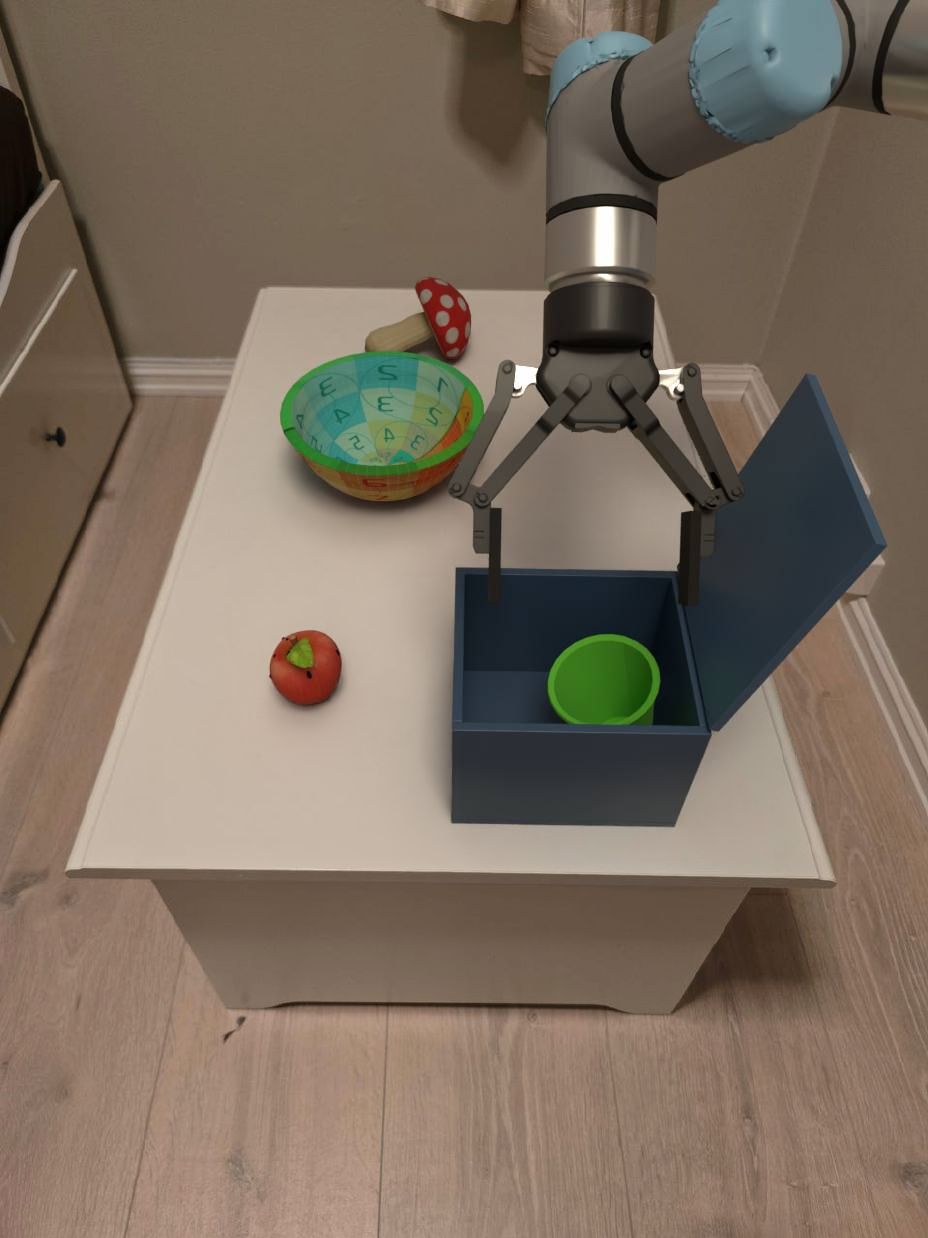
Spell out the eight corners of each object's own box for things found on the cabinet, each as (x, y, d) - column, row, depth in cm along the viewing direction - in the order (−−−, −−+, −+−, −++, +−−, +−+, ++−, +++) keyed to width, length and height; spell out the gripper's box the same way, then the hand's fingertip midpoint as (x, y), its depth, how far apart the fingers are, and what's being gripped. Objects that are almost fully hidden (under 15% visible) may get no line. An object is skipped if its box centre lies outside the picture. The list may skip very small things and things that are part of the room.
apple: (260, 689, 85) (241, 620, 77) (318, 652, 88) (306, 583, 80) (306, 740, 81) (292, 674, 74) (366, 700, 84) (358, 632, 77)
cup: (555, 770, 80) (527, 709, 72) (597, 688, 84) (576, 621, 75) (648, 806, 76) (631, 745, 67) (689, 718, 79) (677, 650, 71)
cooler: (451, 823, 76) (451, 730, 65) (454, 668, 87) (455, 566, 76) (674, 827, 76) (712, 734, 65) (650, 672, 87) (679, 570, 76)
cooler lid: (876, 542, 50) (888, 545, 50) (806, 372, 61) (816, 375, 61) (708, 730, 65) (718, 732, 65) (676, 566, 76) (684, 567, 76)
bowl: (456, 408, 114) (457, 338, 106) (503, 525, 100) (508, 455, 92) (281, 432, 110) (269, 362, 103) (304, 558, 96) (292, 487, 89)
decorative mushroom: (343, 312, 113) (451, 260, 111) (351, 313, 123) (450, 266, 122) (381, 394, 116) (487, 345, 114) (386, 389, 126) (483, 344, 125)
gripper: (762, 310, 65) (751, 603, 66) (418, 305, 64) (415, 598, 66) (802, 279, 57) (788, 609, 59) (413, 272, 57) (409, 604, 59)
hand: (591, 604), depth 62 cm, fingers open, 13 cm apart
